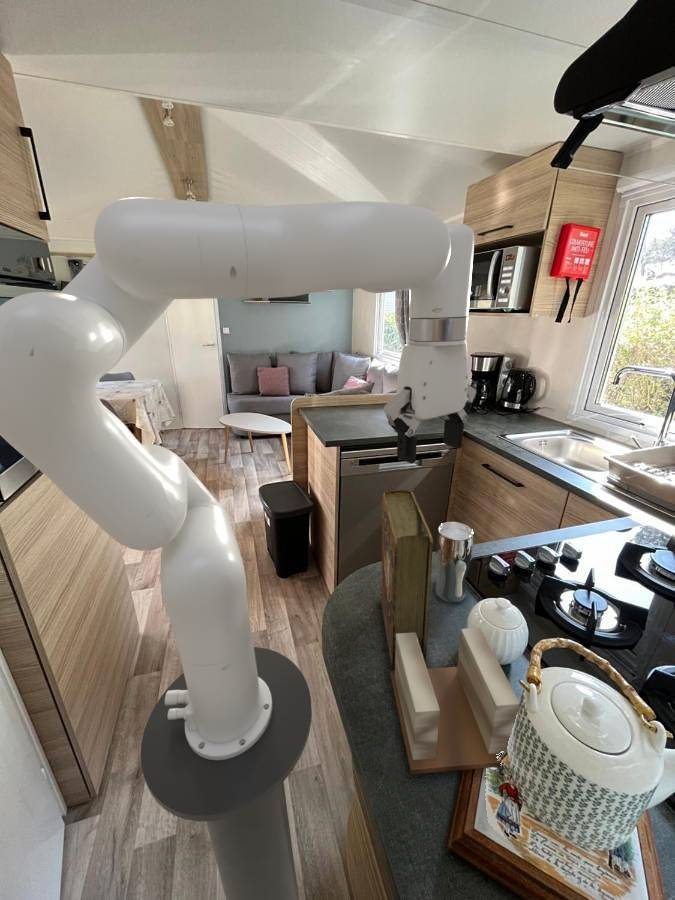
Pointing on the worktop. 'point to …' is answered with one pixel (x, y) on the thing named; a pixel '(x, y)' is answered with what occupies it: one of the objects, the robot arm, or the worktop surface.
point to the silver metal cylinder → (453, 560)
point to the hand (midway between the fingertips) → (430, 452)
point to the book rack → (453, 706)
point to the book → (405, 568)
